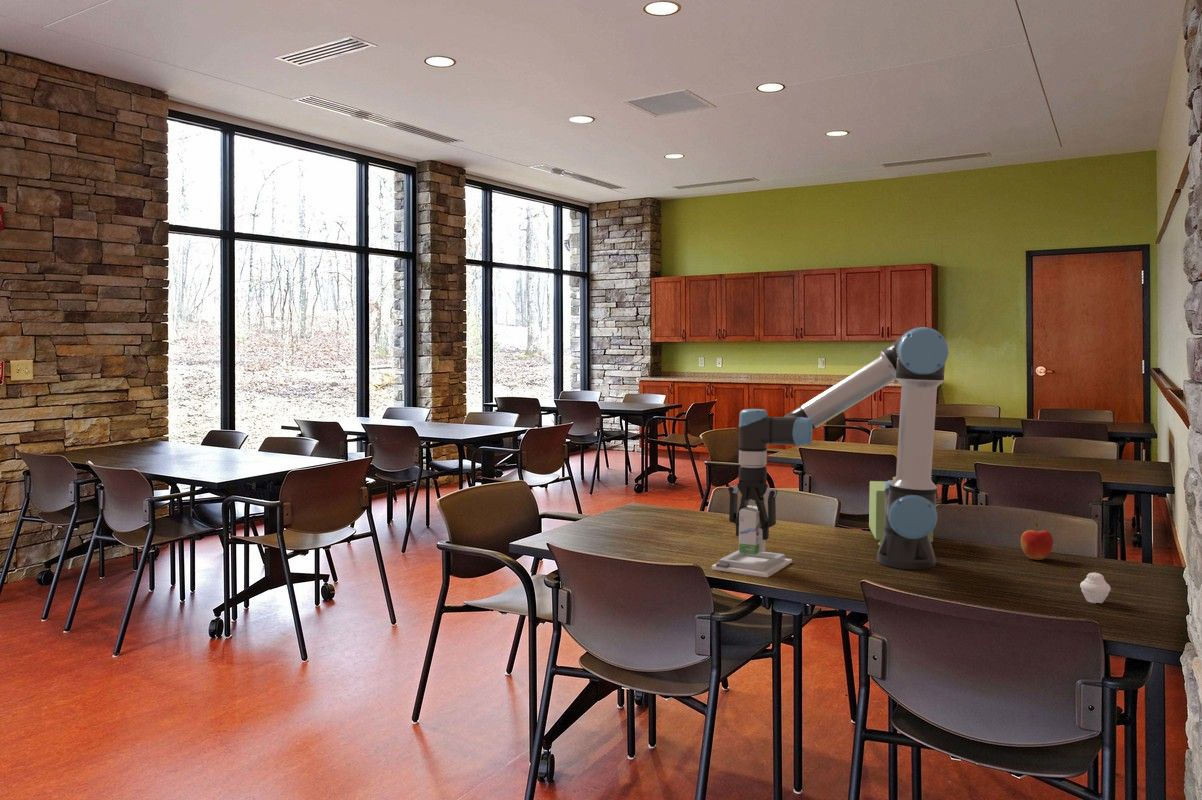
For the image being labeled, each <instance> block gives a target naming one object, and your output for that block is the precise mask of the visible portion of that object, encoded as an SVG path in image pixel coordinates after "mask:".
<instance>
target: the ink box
mask: <svg viewBox="0 0 1202 800" xmlns="http://www.w3.org/2000/svg"><path fill="white" fill-rule="evenodd" d="M738 511H739V510H738ZM761 527H762V525H761V520H760V516H759V511H758V508H757V505H747V507H745V508H742V509H741V510H740V511H739V537H738V550H739V553H745V554H755V555H756V554H757V553H759V528H761Z"/></svg>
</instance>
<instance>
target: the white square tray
mask: <svg viewBox="0 0 1202 800" xmlns="http://www.w3.org/2000/svg"><path fill="white" fill-rule="evenodd" d="M790 563H791V564H792V563H793V558H786V554H785V553H779V552H771V551H763V552H759V553H757V554H756V555H755V554H745V553H739V549H738V550H736V551H733V552H731V553H729V554H727V555H726V556H724V557H722V558H720V559H718V562H716V563H714V564H712V565H711V570H714V571H720V572H728V573H735V574H740V575H748V576H754V577H762V578H769V577H770V576H772V575H774V574H775V573H777V572H779V571H780V570H782V569H784V568H785V567H787V566H789V565H790Z"/></svg>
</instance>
